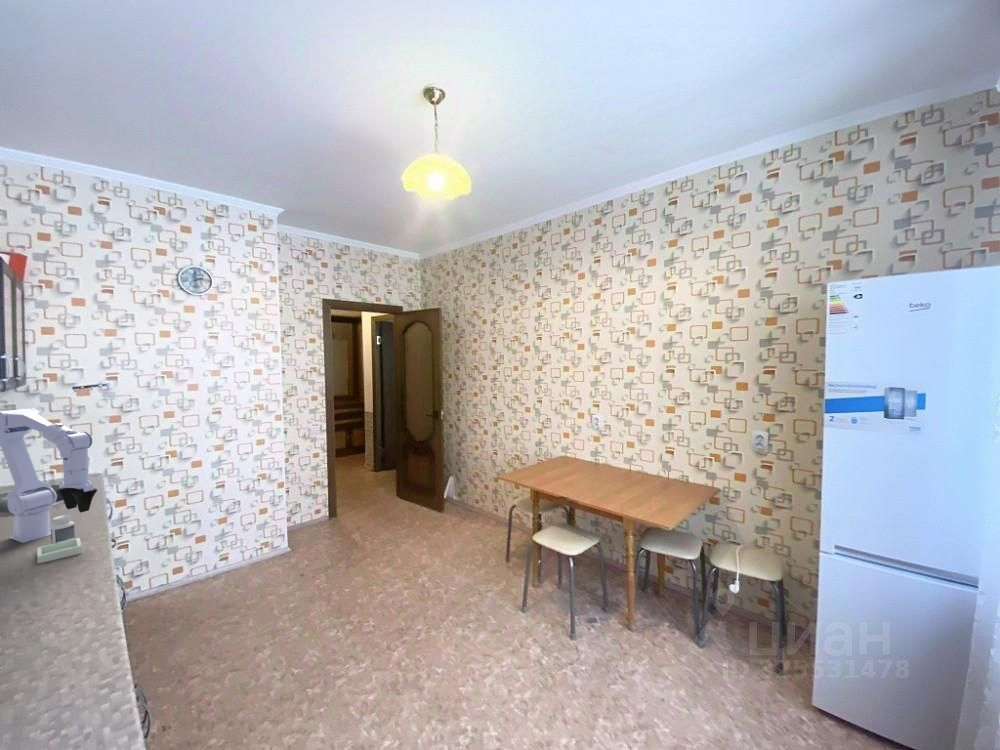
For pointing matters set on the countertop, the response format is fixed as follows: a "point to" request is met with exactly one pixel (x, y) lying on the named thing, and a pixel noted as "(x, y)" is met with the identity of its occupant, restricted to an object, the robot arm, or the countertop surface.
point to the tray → (59, 550)
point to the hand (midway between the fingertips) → (77, 509)
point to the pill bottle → (62, 529)
